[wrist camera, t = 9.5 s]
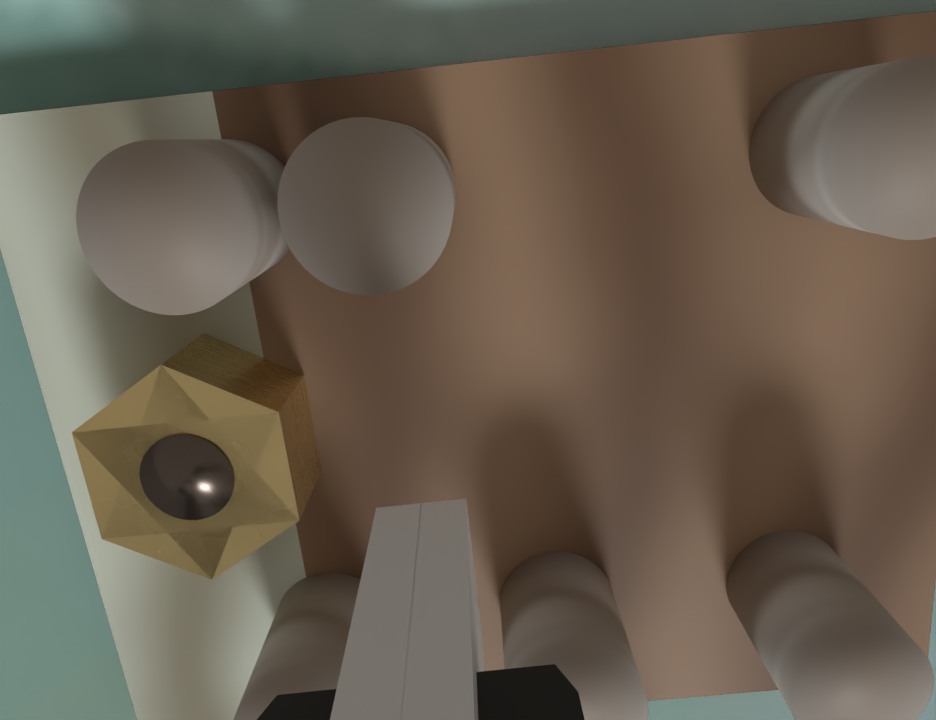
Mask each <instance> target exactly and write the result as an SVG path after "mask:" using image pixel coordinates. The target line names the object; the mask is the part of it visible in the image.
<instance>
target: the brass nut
mask: <svg viewBox="0 0 936 720" xmlns="http://www.w3.org/2000/svg"><path fill="white" fill-rule="evenodd" d="M72 436H73V440H74V443H75V447H76V450H77V454H78V457H79V461H80V464H81V468H82V471H83V475H84V478H85V482H86V485H87V489H88V493H89V496H90V500H91V503H92V507H93V510H94V514H95V517H96V521H97V524H98V528H99V531H100V535H101V538H102V539H103V540H106V541H108V542H111V543H114V544H116V545H119V546H122V547H124V548H127V549H130V550H133V551H135V552H138V553H141V554H143V555H146V556H149V557H151V558H154V559H157V560H159V561H162V562H165V563H168V564H170V565H173V566H176V567H178V568H181V569H184V570H186V571H189V572H192V573H195V574H197V575H200V576H203V577H205V578H208V579H211V580H213V579H214V578H216V577H217V576H219V575H220V574H222V573H223V572H225V571H226V570H227V569H229V568H230V567H232V566H233V565H235V564H236V563H238V562H239V561H241V560H242V559H244V558H245V557H247V556H248V555H250V554H251V553H253V552H254V551H255V550H257V549H258V548H260V547H261V546H263V545H264V544H266V543H267V542H269V541H270V540H272V539H273V538H275V537H276V536H278V535H279V534H280V533H282V532H283V531H285V530H286V529H288V528H289V527H291V526H292V525H294V524H295V523H297V522H298V521H299V520H300V518H301V516H302V514H303V511H304V509H305V507H306V504H307V502H308V500H309V498H310V495H311V493H312V491H313V488H314V486H315V484H316V482H317V479H318V477H319V475H320V472H321V466H320V460H319V454H318V449H317V443H316V437H315V432H314V426H313V421H312V415H311V409H310V404H309V398H308V392H307V387H306V381H305V376H304V374H301V373H299V372H296V371H294V370H292V369H289V368H287V367H284V366H282V365H279V364H277V363H275V362H272V361H270V360H267V359H265V358H263V357H260V356H258V355H255V354H253V353H250V352H248V351H246V350H243V349H241V348H238V347H236V346H233V345H231V344H229V343H226V342H224V341H221V340H219V339H216V338H214V337H212V336H209V335H207V334H204V333H203V334H202V335H200V336H199V337H198V338H196V339H195V340H193V341H192V342H191V343H189V344H188V345H187V346H185V347H184V348H183V349H181V350H180V351H179V352H177V353H176V354H175V355H173V356H172V357H171V358H169V359H168V360H167V361H165V362H164V363H163V364H161V365H160V366H159V367H157V368H156V369H155V370H153V371H152V372H151V373H149V374H148V375H147V376H145V377H144V378H143V379H141V380H140V381H139V382H137V383H136V384H135V385H133V386H132V387H131V388H130V389H128V390H127V391H126V392H124V393H123V394H122V395H120V396H119V397H118V398H116V399H115V400H114V401H112V402H111V403H110V404H108V405H107V406H106V407H104V408H103V409H102V410H101V411H99V412H98V413H97V414H95V415H94V416H93V417H91V418H90V419H89V420H87V421H86V422H85V423H83V424H82V425H81V426H79V427H78V428H77V429H75V430H74V431H73V432H72Z"/></svg>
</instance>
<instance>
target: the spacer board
mask: <svg viewBox="0 0 936 720" xmlns="http://www.w3.org/2000/svg"><path fill="white" fill-rule="evenodd" d="M0 249H1V252H2V256H3V259H4V262H5V266H6V269H7V273H8V276H9V280H10V283H11V287H12V290H13V293H14V297H15V300H16V304H17V307H18V311H19V314H20V318H21V321H22V324H23V328H24V331H25V335H26V338H27V342H28V345H29V348H30V352H31V355H32V359H33V362H34V366H35V369H36V373H37V376H38V379H39V383H40V386H41V390H42V393H43V397H44V400H45V404H46V407H47V410H48V414H49V417H50V421H51V424H52V428H53V431H54V434H55V438H56V441H57V445H58V448H59V452H60V455H61V459H62V462H63V465H64V469H65V472H66V476H67V479H68V483H69V486H70V490H71V493H72V496H73V500H74V503H75V507H76V510H77V514H78V517H79V521H80V524H81V527H82V531H83V534H84V538H85V541H86V545H87V548H88V551H89V555H90V558H91V562H92V565H93V569H94V572H95V576H96V579H97V582H98V586H99V589H100V593H101V596H102V600H103V603H104V607H105V610H106V613H107V617H108V620H109V624H110V627H111V631H112V634H113V638H114V641H115V644H116V648H117V651H118V655H119V658H120V662H121V665H122V668H123V672H124V675H125V679H126V682H127V686H128V689H129V693H130V696H131V699H132V703H133V706H134V710H135V713H136V717H137V720H257V719H258V717H259V716H260V715H261V714H262V713H263V711H264V710H265V709H266V708H267V707H268V705H269V704H270V703H271V702H272V701H273V699H274V698H275V697H276V696H277V695H281V694H291V693H300V692H310V691H320V690H330V689H337V685H338V680H339V676H340V671H341V666H342V662H343V657H344V653H345V648H346V644H347V639H348V634H349V630H350V625H351V621H352V616H353V612H354V607H355V603H356V598H357V593H358V589H359V584H360V580H361V575H362V571H363V566H364V561H365V557H366V552H367V548H368V543H369V539H370V534H371V529H372V525H373V520H374V516H375V511H376V508H380V507H389V506H399V505H409V504H418V503H428V502H438V501H448V500H457V499H466V500H467V509H468V518H469V527H470V535H471V544H472V553H473V562H474V570H475V579H476V588H477V596H478V605H479V614H480V623H481V631H482V641H483V658H484V671H491V670H501V669H511V668H521V667H531V666H541V665H551V664H555V665H556V666H557V667H558V668H559V670H560V671H561V672H562V673H563V674H564V675H565V677H566V678H567V679H568V680H569V681H570V683H571V684H572V685H573V686H574V687H575V689H576V690H577V691H578V693H579V697H580V702H581V706H582V710H583V715H584V719H585V720H648V702H647V701H652V700H664V699H675V698H687V697H699V696H711V695H723V694H734V693H746V692H758V691H770V690H779V691H780V693H781V695H782V697H783V698H784V700H785V702H786V704H787V706H788V707H789V709H790V711H791V713H792V714H793V716H794V718H795V720H917V719H918V718H919V717H920V715H921V714H922V713H923V711H924V710H925V708H926V706H927V704H928V703H929V701H930V698H931V695H932V691H933V685H934V676H933V670H932V667H931V664H930V661H929V660H928V652H929V642H930V631H931V621H932V611H933V601H934V590H935V580H936V11H931V12H922V13H913V14H904V15H895V16H886V17H877V18H868V19H859V20H850V21H841V22H832V23H823V24H814V25H805V26H796V27H787V28H777V29H768V30H759V31H750V32H741V33H732V34H723V35H714V36H705V37H696V38H687V39H678V40H669V41H660V42H651V43H642V44H633V45H624V46H615V47H606V48H597V49H588V50H579V51H570V52H561V53H552V54H543V55H534V56H525V57H516V58H507V59H498V60H489V61H480V62H471V63H462V64H453V65H444V66H434V67H425V68H416V69H407V70H398V71H389V72H380V73H371V74H362V75H353V76H344V77H335V78H326V79H317V80H308V81H299V82H290V83H281V84H272V85H263V86H254V87H245V88H236V89H227V90H218V91H209V92H200V93H191V94H182V95H173V96H164V97H155V98H146V99H137V100H128V101H119V102H110V103H101V104H91V105H82V106H73V107H64V108H55V109H46V110H37V111H28V112H19V113H10V114H1V115H0ZM203 333H204V334H207V335H209V336H212V337H214V338H216V339H219V340H221V341H224V342H226V343H229V344H231V345H233V346H236V347H238V348H241V349H243V350H246V351H248V352H250V353H253V354H255V355H258V356H260V357H263V358H265V359H267V360H270V361H272V362H275V363H277V364H279V365H282V366H284V367H287V368H289V369H292V370H294V371H296V372H299V373H301V374H304V376H305V381H306V387H307V392H308V398H309V404H310V409H311V415H312V421H313V426H314V432H315V437H316V443H317V449H318V454H319V460H320V466H321V472H320V475H319V477H318V479H317V482H316V484H315V486H314V488H313V491H312V493H311V495H310V498H309V500H308V502H307V504H306V507H305V509H304V511H303V514H302V516H301V518H300V520H299V521H298V522H297V523H295V524H294V525H292V526H291V527H289V528H288V529H286V530H285V531H283V532H282V533H280V534H279V535H278V536H276V537H275V538H273V539H272V540H270V541H269V542H267V543H266V544H264V545H263V546H261V547H260V548H258V549H257V550H255V551H254V552H253V553H251V554H250V555H248V556H247V557H245V558H244V559H242V560H241V561H239V562H238V563H236V564H235V565H233V566H232V567H230V568H229V569H227V570H226V571H225V572H223V573H222V574H220V575H219V576H217V577H216V578H214V579H213V580H211V579H208V578H205V577H203V576H200V575H197V574H195V573H192V572H189V571H186V570H184V569H181V568H178V567H176V566H173V565H170V564H168V563H165V562H162V561H159V560H157V559H154V558H151V557H149V556H146V555H143V554H141V553H138V552H135V551H133V550H130V549H127V548H124V547H122V546H119V545H116V544H114V543H111V542H108V541H106V540H103V539H102V538H101V535H100V531H99V528H98V524H97V521H96V517H95V514H94V510H93V507H92V503H91V500H90V496H89V493H88V489H87V485H86V482H85V478H84V475H83V471H82V468H81V464H80V461H79V457H78V454H77V450H76V447H75V443H74V440H73V436H72V432H73V431H74V430H75V429H77V428H78V427H79V426H81V425H82V424H83V423H85V422H86V421H87V420H89V419H90V418H91V417H93V416H94V415H95V414H97V413H98V412H99V411H101V410H102V409H103V408H104V407H106V406H107V405H108V404H110V403H111V402H112V401H114V400H115V399H116V398H118V397H119V396H120V395H122V394H123V393H124V392H126V391H127V390H128V389H130V388H131V387H132V386H133V385H135V384H136V383H137V382H139V381H140V380H141V379H143V378H144V377H145V376H147V375H148V374H149V373H151V372H152V371H153V370H155V369H156V368H157V367H159V366H160V365H161V364H163V363H164V362H165V361H167V360H168V359H169V358H171V357H172V356H173V355H175V354H176V353H177V352H179V351H180V350H181V349H183V348H184V347H185V346H187V345H188V344H189V343H191V342H192V341H193V340H195V339H196V338H198V337H199V336H200V335H202V334H203Z"/></svg>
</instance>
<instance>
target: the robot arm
mask: <svg viewBox="0 0 936 720" xmlns="http://www.w3.org/2000/svg"><path fill="white" fill-rule="evenodd" d="M257 720H585V719H584V715H583V710H582V706H581V702H580V697H579V693H578V691H577V690H576V689H575V687H574V686H573V685H572V684H571V683H570V681H569V680H568V679H567V678H566V677H565V675H564V674H563V673H562V672H561V671H560V670H559V668H558V667H557V666H556V665H555V664H551V665H541V666H531V667H521V668H511V669H501V670H491V671H484V658H483V641H482V631H481V623H480V614H479V605H478V596H477V588H476V579H475V570H474V562H473V553H472V544H471V535H470V527H469V518H468V509H467V500H466V499H457V500H448V501H438V502H428V503H418V504H409V505H399V506H389V507H380V508H376V511H375V516H374V520H373V525H372V529H371V534H370V539H369V543H368V548H367V552H366V557H365V561H364V566H363V571H362V575H361V580H360V584H359V589H358V593H357V598H356V603H355V607H354V612H353V616H352V621H351V625H350V630H349V634H348V639H347V644H346V648H345V653H344V657H343V662H342V666H341V671H340V676H339V680H338V685H337V689H330V690H320V691H310V692H300V693H291V694H281V695H277V696H276V697H275V698H274V699H273V701H272V702H271V703H270V704H269V705H268V707H267V708H266V709H265V710H264V711H263V713H262V714H261V715H260V716H259V717H258V719H257Z"/></svg>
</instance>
